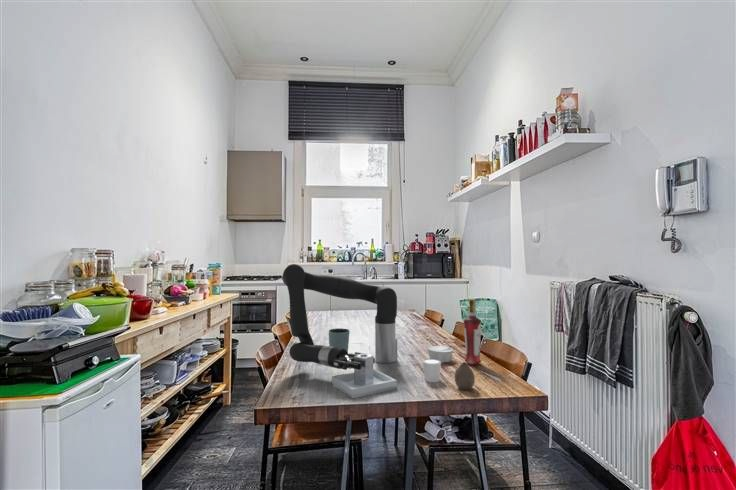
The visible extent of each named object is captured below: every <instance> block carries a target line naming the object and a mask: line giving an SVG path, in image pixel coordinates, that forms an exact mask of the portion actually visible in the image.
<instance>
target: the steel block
mask: <svg viewBox="0 0 736 490" xmlns="http://www.w3.org/2000/svg"><path fill="white" fill-rule="evenodd" d="M361 353H362V354H359V355H357V356H354V362H358V363H361V369H360V370H358V369H353V370H354V371H353V372H354V384H355V385H359V386H365V385H369V384H373V369H374V364H373V357H374V355H373V354H368V353H364V352H361ZM363 353H364V354H363Z"/></svg>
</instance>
